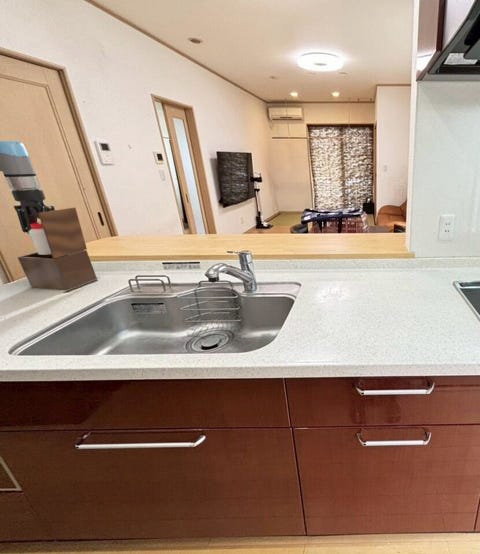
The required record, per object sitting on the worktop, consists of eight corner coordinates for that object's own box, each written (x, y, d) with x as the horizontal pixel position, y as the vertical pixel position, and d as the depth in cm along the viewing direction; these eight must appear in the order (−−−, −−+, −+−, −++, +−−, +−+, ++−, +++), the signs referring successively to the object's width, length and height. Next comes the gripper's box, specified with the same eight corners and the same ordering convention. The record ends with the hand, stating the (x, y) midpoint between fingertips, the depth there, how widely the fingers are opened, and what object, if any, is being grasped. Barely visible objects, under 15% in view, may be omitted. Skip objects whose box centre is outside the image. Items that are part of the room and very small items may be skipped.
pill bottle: (37, 251, 112) (25, 223, 108) (65, 247, 118) (54, 220, 113) (38, 256, 107) (25, 226, 103) (67, 251, 113) (56, 223, 109)
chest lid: (37, 212, 100) (39, 213, 100) (73, 207, 111) (75, 207, 111) (52, 258, 106) (54, 258, 106) (85, 248, 117) (87, 249, 117)
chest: (32, 290, 113) (17, 257, 108) (64, 278, 124) (52, 248, 119) (68, 292, 112) (54, 259, 107) (97, 280, 122) (86, 250, 117)
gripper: (63, 188, 106) (86, 249, 115) (14, 187, 108) (40, 247, 117) (39, 191, 99) (65, 255, 108) (-13, 189, 101) (17, 252, 110)
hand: (52, 251), depth 112 cm, fingers closed on pill bottle, 8 cm apart
